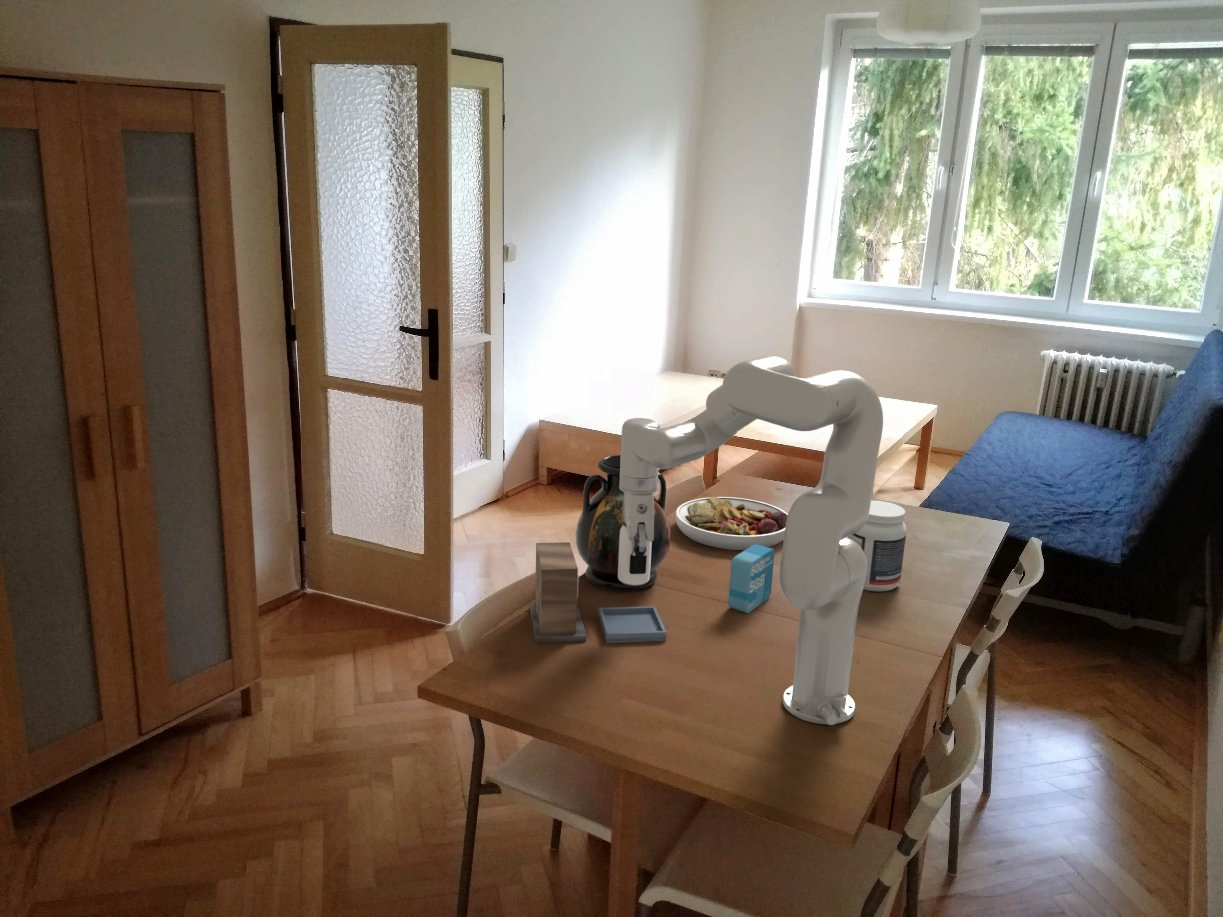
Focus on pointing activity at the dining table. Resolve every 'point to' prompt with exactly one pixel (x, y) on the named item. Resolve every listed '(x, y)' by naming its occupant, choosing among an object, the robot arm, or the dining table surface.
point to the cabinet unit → (556, 595)
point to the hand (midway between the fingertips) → (634, 565)
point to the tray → (632, 624)
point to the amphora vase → (615, 529)
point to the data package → (751, 578)
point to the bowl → (731, 522)
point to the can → (624, 560)
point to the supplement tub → (883, 545)
